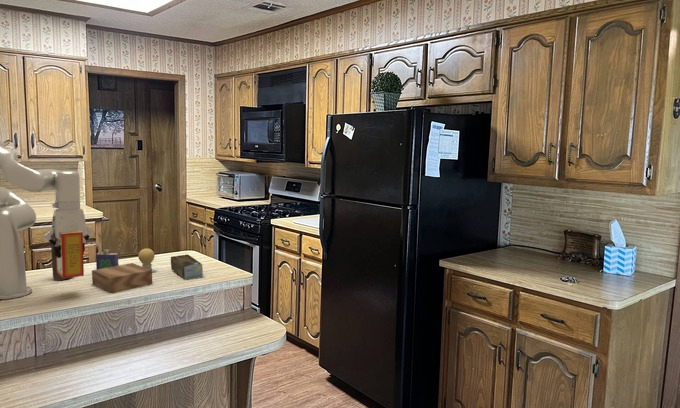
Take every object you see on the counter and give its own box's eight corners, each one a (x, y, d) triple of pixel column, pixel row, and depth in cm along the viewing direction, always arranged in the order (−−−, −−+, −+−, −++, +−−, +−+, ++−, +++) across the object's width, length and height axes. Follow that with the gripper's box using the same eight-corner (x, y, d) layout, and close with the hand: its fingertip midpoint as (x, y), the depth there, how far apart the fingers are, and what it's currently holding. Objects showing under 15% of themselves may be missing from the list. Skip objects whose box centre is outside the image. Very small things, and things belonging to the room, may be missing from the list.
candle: (54, 276, 203) (51, 228, 200) (74, 274, 206) (71, 227, 203) (51, 281, 196) (48, 231, 193) (73, 279, 199) (70, 230, 196)
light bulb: (139, 270, 213) (138, 247, 212) (155, 269, 216) (154, 246, 214) (138, 274, 207) (137, 250, 206) (155, 272, 210) (154, 249, 208)
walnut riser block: (111, 294, 182) (110, 278, 181) (92, 285, 192) (91, 270, 192) (152, 285, 194) (151, 270, 193) (133, 277, 204) (132, 263, 203)
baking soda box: (83, 275, 177) (82, 231, 175) (63, 278, 172) (61, 232, 170) (76, 269, 184) (75, 227, 182) (56, 272, 179) (55, 228, 177)
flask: (120, 274, 208) (118, 248, 206) (116, 275, 205) (115, 250, 203) (98, 273, 208) (97, 248, 207) (94, 275, 205) (93, 250, 204)
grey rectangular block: (183, 280, 199) (183, 264, 198) (170, 270, 215) (169, 255, 214) (203, 277, 204) (203, 262, 203) (188, 267, 219) (188, 253, 219)
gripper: (45, 209, 166) (47, 261, 168) (98, 205, 179) (99, 253, 182) (36, 206, 171) (38, 257, 173) (88, 203, 184) (89, 250, 186)
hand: (69, 255), depth 177 cm, fingers closed on baking soda box, 7 cm apart
